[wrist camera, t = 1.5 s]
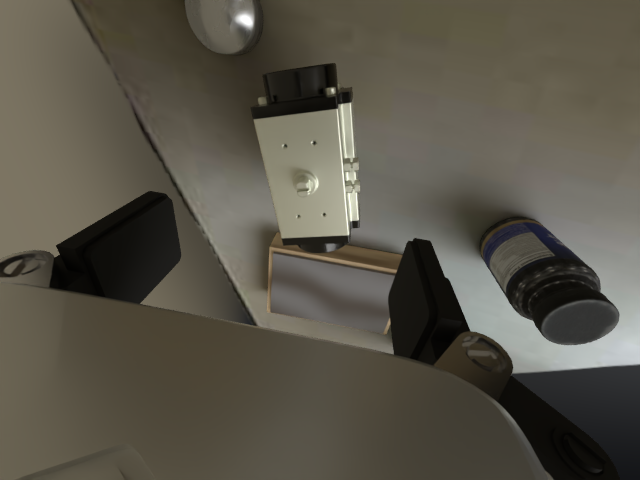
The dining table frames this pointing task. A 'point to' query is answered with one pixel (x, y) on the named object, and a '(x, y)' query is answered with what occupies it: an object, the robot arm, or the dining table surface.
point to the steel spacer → (226, 24)
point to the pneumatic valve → (310, 156)
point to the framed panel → (332, 285)
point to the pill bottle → (547, 282)
